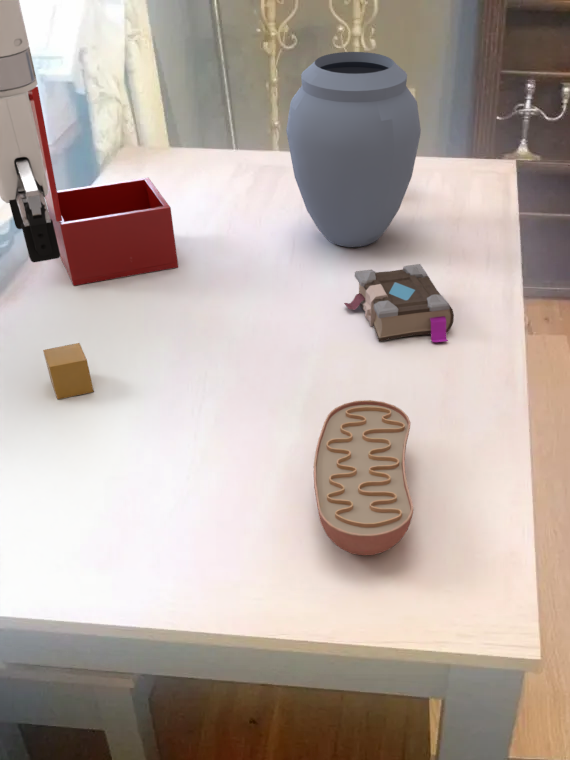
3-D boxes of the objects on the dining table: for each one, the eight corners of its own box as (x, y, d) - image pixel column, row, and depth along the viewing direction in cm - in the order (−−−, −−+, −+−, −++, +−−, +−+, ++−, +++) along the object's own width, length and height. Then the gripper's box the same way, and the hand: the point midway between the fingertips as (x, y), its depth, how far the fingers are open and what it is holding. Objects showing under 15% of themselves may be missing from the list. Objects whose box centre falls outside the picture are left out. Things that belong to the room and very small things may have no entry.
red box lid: (21, 60, 120) (-20, 63, 118) (37, 86, 111) (-7, 90, 110) (46, 189, 131) (8, 193, 129) (62, 221, 123) (22, 226, 121)
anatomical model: (411, 576, 86) (414, 536, 82) (308, 573, 86) (306, 533, 83) (407, 438, 102) (409, 400, 99) (320, 436, 102) (319, 398, 99)
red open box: (156, 235, 142) (148, 177, 136) (178, 267, 134) (170, 207, 127) (57, 251, 137) (44, 192, 131) (73, 286, 129) (60, 224, 123)
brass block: (57, 399, 108) (49, 367, 105) (51, 381, 111) (42, 349, 108) (94, 392, 109) (86, 359, 106) (86, 374, 112) (79, 342, 109)
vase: (318, 206, 150) (315, 38, 133) (429, 223, 145) (442, 51, 128) (270, 252, 137) (260, 73, 120) (390, 273, 132) (398, 89, 115)
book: (331, 286, 129) (331, 251, 126) (412, 276, 131) (414, 242, 128) (369, 354, 116) (370, 318, 112) (458, 342, 118) (462, 306, 114)
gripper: (-54, 54, 93) (-8, 220, 105) (-33, 99, 82) (16, 279, 94) (19, 46, 95) (56, 209, 107) (49, 89, 84) (87, 266, 96)
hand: (37, 242), depth 101 cm, fingers open, 9 cm apart
